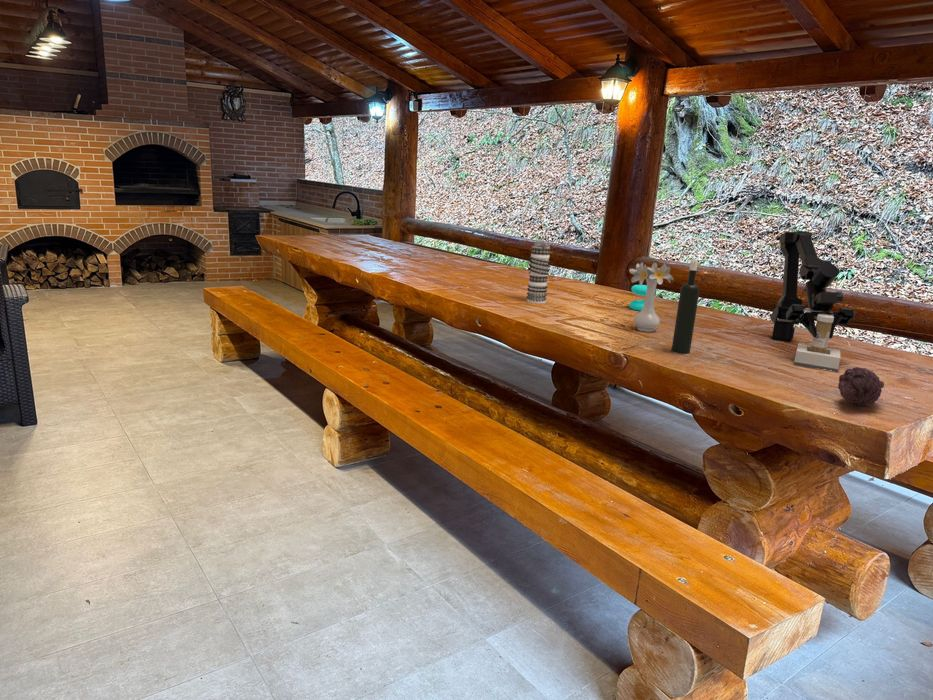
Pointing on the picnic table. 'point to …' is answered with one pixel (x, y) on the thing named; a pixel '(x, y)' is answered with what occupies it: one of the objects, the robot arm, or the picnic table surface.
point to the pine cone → (860, 386)
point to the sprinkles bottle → (822, 333)
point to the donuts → (639, 291)
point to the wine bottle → (686, 313)
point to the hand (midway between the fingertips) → (823, 337)
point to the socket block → (817, 358)
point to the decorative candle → (538, 273)
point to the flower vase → (649, 294)
